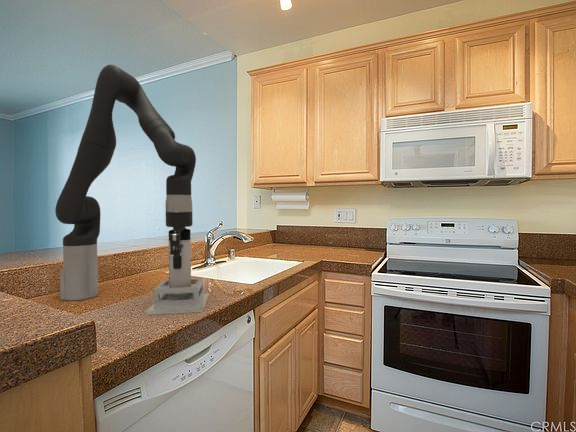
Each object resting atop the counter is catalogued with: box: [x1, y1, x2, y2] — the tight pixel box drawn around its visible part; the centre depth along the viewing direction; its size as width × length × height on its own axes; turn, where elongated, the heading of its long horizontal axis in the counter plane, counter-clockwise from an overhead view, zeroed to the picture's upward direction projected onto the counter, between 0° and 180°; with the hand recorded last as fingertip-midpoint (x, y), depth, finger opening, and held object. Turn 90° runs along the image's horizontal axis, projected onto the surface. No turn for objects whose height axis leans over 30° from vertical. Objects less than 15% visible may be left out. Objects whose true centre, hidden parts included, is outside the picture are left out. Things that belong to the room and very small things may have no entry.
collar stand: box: [145, 277, 210, 316], centre depth 88 cm, size 15×15×6 cm
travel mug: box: [168, 227, 192, 298], centre depth 88 cm, size 6×7×20 cm
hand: (179, 266), depth 88 cm, fingers closed on travel mug, 6 cm apart
